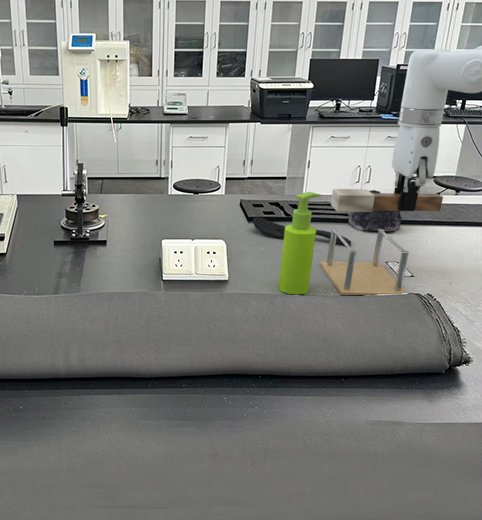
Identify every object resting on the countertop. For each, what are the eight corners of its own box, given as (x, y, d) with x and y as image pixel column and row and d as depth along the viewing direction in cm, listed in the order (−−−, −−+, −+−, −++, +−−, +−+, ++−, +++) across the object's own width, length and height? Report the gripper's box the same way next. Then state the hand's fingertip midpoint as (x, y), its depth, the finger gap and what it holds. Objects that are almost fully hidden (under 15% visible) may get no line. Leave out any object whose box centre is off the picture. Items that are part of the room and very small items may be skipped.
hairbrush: (350, 239, 127) (249, 219, 138) (347, 253, 129) (247, 232, 139) (355, 229, 134) (258, 210, 144) (352, 243, 135) (256, 223, 146)
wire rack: (378, 265, 120) (385, 227, 116) (407, 297, 105) (417, 254, 102) (320, 264, 121) (325, 226, 117) (341, 296, 106) (348, 253, 102)
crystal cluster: (394, 240, 137) (406, 202, 133) (340, 226, 143) (350, 190, 139) (400, 229, 148) (411, 194, 144) (350, 217, 154) (359, 183, 150)
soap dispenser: (317, 289, 109) (330, 194, 101) (295, 298, 105) (307, 200, 97) (294, 279, 113) (305, 188, 105) (272, 287, 109) (282, 193, 102)
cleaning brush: (432, 205, 112) (435, 189, 111) (443, 213, 108) (446, 196, 106) (330, 204, 114) (332, 188, 112) (337, 211, 109) (339, 195, 108)
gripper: (460, 123, 96) (439, 220, 103) (422, 112, 110) (406, 197, 117) (417, 123, 96) (399, 220, 103) (385, 112, 111) (371, 197, 118)
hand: (403, 207), depth 110 cm, fingers closed on cleaning brush, 2 cm apart
